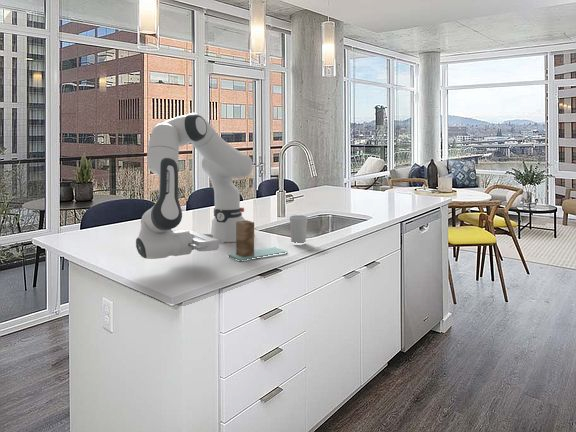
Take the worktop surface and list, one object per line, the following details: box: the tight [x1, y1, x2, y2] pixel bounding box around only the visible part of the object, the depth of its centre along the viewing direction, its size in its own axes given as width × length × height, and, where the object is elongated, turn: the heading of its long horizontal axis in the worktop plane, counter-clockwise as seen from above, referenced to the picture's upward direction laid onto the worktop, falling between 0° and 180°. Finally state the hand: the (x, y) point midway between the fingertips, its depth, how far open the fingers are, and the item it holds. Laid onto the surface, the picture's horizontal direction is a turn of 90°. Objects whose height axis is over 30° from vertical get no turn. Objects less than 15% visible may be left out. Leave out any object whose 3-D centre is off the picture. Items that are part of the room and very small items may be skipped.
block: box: [235, 219, 255, 257], centre depth 196 cm, size 5×5×13 cm
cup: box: [289, 214, 309, 243], centre depth 221 cm, size 8×8×12 cm
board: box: [227, 246, 288, 262], centre depth 201 cm, size 22×9×1 cm, turn 126°
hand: (217, 238), depth 189 cm, fingers open, 7 cm apart
